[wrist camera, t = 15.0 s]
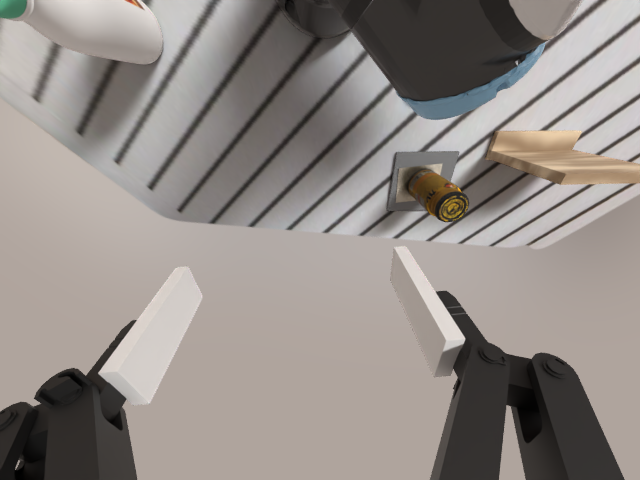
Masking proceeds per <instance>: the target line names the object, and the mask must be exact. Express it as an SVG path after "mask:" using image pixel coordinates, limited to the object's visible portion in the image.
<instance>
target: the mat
mask: <svg viewBox="0 0 640 480" xmlns="http://www.w3.org/2000/svg"><path fill="white" fill-rule="evenodd" d="M458 155H459V152H458V151H442V152H396V157H395V163H394V169H393V175H392V181H391V187H390V194H389V200H388V206H387V211H409V210H426V209H425V208H423V207H422V206H421V205H420V204H419V202H417V201H416V200H415V201H407V202H397V203H396V194H397V183H398V173H399V168H405V167H414V166H422V165H432V164H442V163H443V164H442V169H441V174H440V176H442V177H443V178H445V179H447V180H448V181H450V182H451V178H452V175H453V172H454V168H455V165H456V162H457V158H458Z"/></svg>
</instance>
